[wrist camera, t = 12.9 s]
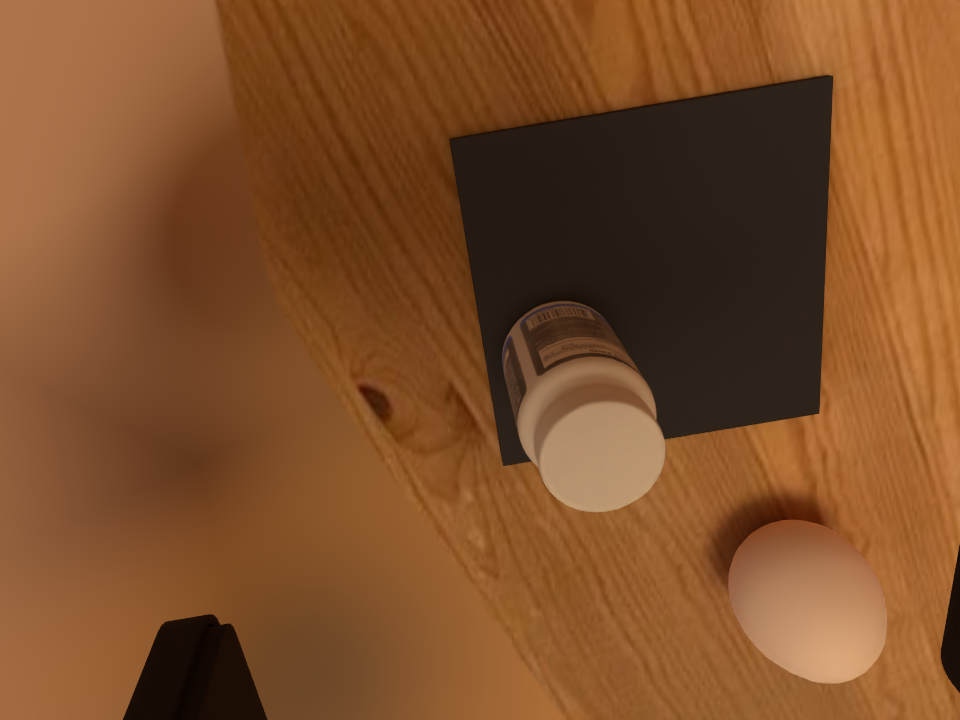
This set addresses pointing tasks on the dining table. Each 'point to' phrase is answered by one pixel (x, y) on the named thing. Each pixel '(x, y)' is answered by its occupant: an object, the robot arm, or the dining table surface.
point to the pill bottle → (582, 408)
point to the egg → (808, 601)
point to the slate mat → (665, 246)
